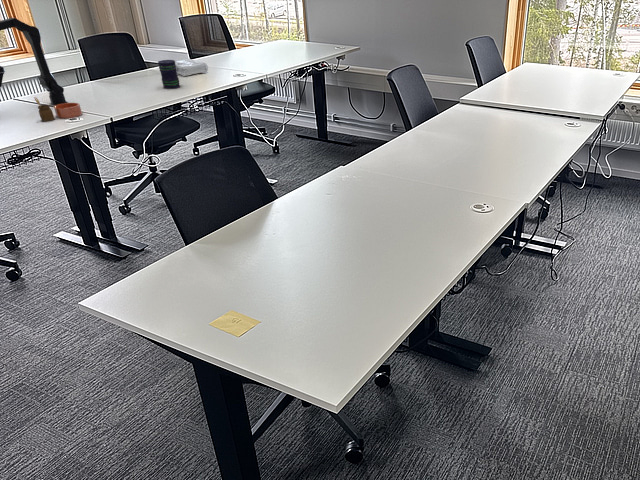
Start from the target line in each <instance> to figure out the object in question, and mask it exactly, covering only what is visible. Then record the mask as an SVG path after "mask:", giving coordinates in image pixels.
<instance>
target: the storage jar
mask: <svg viewBox="0 0 640 480" xmlns="http://www.w3.org/2000/svg"><path fill="white" fill-rule="evenodd" d="M175 61H176V60H174V59H163V60H158V61H157V65H158V69H159V72H160V75H161V83H162V86H163V89H165V90H174V89H179V88H180V87H181V85H180V78H179V77H178V74H177V69H176V64H175Z"/></svg>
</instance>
